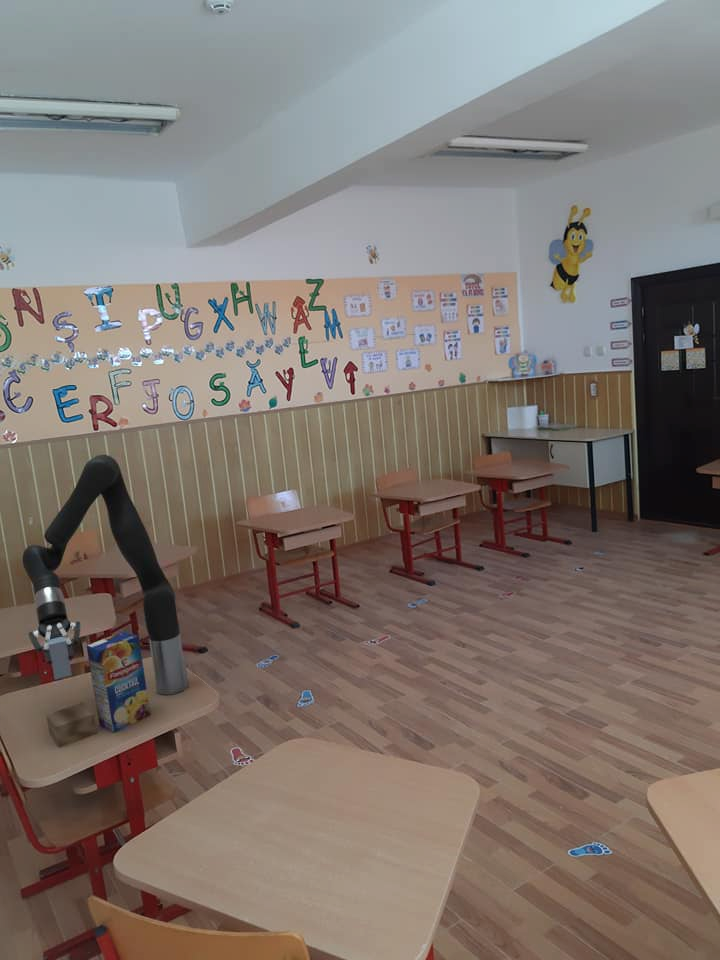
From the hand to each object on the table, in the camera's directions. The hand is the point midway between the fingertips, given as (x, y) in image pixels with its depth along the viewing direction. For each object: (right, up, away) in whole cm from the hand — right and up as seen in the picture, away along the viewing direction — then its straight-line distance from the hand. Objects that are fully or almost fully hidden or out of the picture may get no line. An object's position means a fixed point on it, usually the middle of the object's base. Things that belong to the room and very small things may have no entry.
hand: (60, 661), depth 202 cm
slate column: (0, -4, +2) cm, 5 cm away
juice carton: (+14, -19, +10) cm, 26 cm away
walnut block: (+1, -22, +5) cm, 22 cm away
